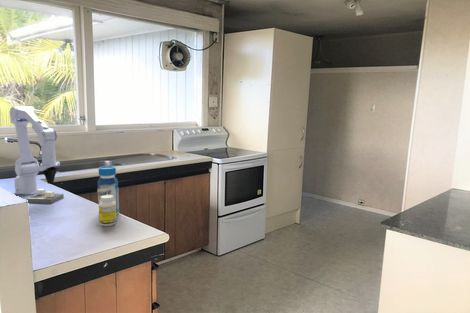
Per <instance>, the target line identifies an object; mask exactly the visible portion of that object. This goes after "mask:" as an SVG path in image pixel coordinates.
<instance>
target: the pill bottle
mask: <svg viewBox="0 0 470 313" xmlns="http://www.w3.org/2000/svg"><path fill="white" fill-rule="evenodd" d="M113 199H114V197H113V195H103V196H101V202H100V203H99V202H98V214H99V225H100V226H102V227H103V226H104V227H110V226H111V227H112V226H114V225H116V223H117V222H118V221H117V219H118V218H117V214H116V203H115V201H113Z"/></svg>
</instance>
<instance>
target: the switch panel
mask: <svg viewBox="0 0 470 313" xmlns="http://www.w3.org/2000/svg"><path fill="white" fill-rule="evenodd" d="M64 198H65V196H64V193H55V192H54V197H45V194H43V195H37V193H35V194H33V195H32V196H29V197H27V198H26V201H27V200H28V202H29V203H30V204H53V203H56V202H58V201H60V200H61V199H64ZM29 203H28V204H29Z"/></svg>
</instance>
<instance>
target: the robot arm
mask: <svg viewBox="0 0 470 313" xmlns="http://www.w3.org/2000/svg"><path fill="white" fill-rule="evenodd" d="M9 118H10V122H11V124H13V125H14V127H15V133H16V139H17V145H18V150H19V158H18V159H16V161H14V170H15V171H14V172H15V174H16V176H15V178H14V189H15V192H14V195H35V194H37V193H36V190H38V182H37V180H38V179H37V176H38V174H39V173H40V172H42V174H43V175H44V176H45V180H46V182H47V184H50V185H51V184H54V182H55V177H56V174H57V172H58V167H59V166H61V161H57V159H56V156H57V155H56V145H55V142H56V140H57V137H58V136H57V131H56V130H55V128H52V127H49V126H48V125H47V123H46V122H44V121H43V120H42V119H39V118H38V117H37V115H36V109H35V108H34V106H33V105H32V106H31V105H30V106H27V105H26V106H20V105H19V106H16V105H15V106H14V105H12V106H11V107H10V109H9ZM28 124H31V128H32V129H33V130H32V131H34V132H35V134H36V135H37V140H38V141H39V142H38V143H39V145H40V148H41V149H40V151H41V165H39V161H38V159H37V158H36V157H33V155H32V150H31V144H30V139H29V133H28Z"/></svg>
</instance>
